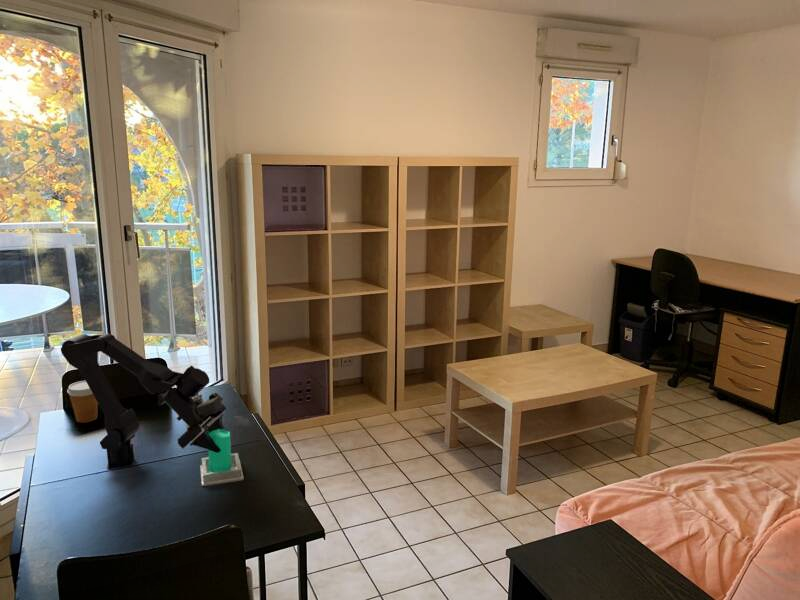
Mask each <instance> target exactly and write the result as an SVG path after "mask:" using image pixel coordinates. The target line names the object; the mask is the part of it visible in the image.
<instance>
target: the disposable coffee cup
mask: <svg viewBox="0 0 800 600" xmlns="http://www.w3.org/2000/svg"><path fill="white" fill-rule="evenodd" d="M66 392H67V394H68V395H69V399H70V402H71V405H72V406H71V407H72V410H73V413H74V416H75V421H76V422H77V423H81V424H83V423H85V424H86V423H89V422H93V421H96V420H97V419H98V411H99V404H98V402H97V400H96V399H95V397H94V395H93V393H92V391H91V390H90V388H89V386H88V384H87V382H86V381H85V380H80V381H76V382H73V383H71V384H69V386H68V388H67V390H66Z"/></svg>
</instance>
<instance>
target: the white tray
mask: <svg viewBox="0 0 800 600" xmlns="http://www.w3.org/2000/svg"><path fill="white" fill-rule="evenodd" d="M199 467H200V469H199V470H200V479H201V481H200V482H201V487H202V488H203V487H209V486H215V485H220V484H222V485H223V484H227V483H235V482H241V481H244V480H245V479H244V478H245V477H244V475H243V469H242V465H241V460H240V457H239V453H238V452H235V453H231V469H230V470H223V471H217V472H211V471H210V470H209V456H206V457H201V464H200V465H199Z"/></svg>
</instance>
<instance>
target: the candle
mask: <svg viewBox="0 0 800 600" xmlns="http://www.w3.org/2000/svg"><path fill="white" fill-rule="evenodd" d="M224 429H225V428H224ZM224 429H218V430H214V431H211V432H209V436H210V437H211V438H212V439H213V441H214V442H215V444H216V445H217V446H218V447H219V448H220V450H221V451H220V452H219V453H217V452H214V451H211V450H208V449H207V450H208V451H207V452H208V457H209V470H210V471H211V472H217V471H223V470H230V469H231V454H232V447H231V446H232V445H231V432H230V431H228V430H227V429H225V430H224Z"/></svg>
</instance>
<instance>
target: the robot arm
mask: <svg viewBox="0 0 800 600" xmlns="http://www.w3.org/2000/svg"><path fill="white" fill-rule="evenodd" d="M60 352H61V354H62V356H63V357H64V359H65V360H66V362H67V363H68V364H69V365H70V366H72V367H74V368H75V369H77V370H78V371H79V372H80V373H81V375H82V377H83V378H84V381H86V382H87V384H88V386H89V388H90V390H91V391H92V393H93V395H94V397H95V399H96V400H97V402H98V407H99V408H100V410H101V411H102V413H103V415H104V429H105V433H106V435H105V437H103V438H102V439H101V440H100V441H99V445H100V447H101V449H102V450H106V456H107V457H106V458H107V465H106V466H107V467H106V469H108V470H110V469H111V470H112V469H118V468H125V467H132V466H133V463H134V461H135V460H136V459H135V457H136V455H135V453H136V452H135V445H134V444H133V443H132V439H134V438H135V437H136V434H137V433H138V431H139V429H140V426H141V425H140V422H139V421H140V419H139V417H138V416H137V415H136V412H135V409H133V408H130V409H127V408H125V407H124V406H123V405H122V403H121V401H120V400H119V398H118V397H117V394H116V393H115V391H114V389H113V387H112V386H111V384H110V382H109V380H108V378H107V376H106V375H105V372H104V370H103V368H102V367H101V365H100V364H99V361H98V359H99V352H101V353H103V354H104V355H106V356H107V357H109V358H110V359H111V360H113V361H114V362H116V363H118V364H119V365H120V366H122V367H123V368H124V369H126V370H127V371H129V372H130V373H132V374H133V375H135V376H136V377H137V379H138V382H139V383H140V385H141V386H142V387H144V388H145V389H146V391H148V392H149V393H150V394H152V395H158V402H157V405H158V406H159V407H160V406H162V405H163V404H164V403H166V404H167V405H168V406H169V407H170V409H171V410H173V412H174V413H175V414H176V415H177V418H176V420H178V421H181V420H182V422H184V423H185V424H186V426H187V425H188V426H189V428H187V429H186V431H185V432H184V433H183V434H182V435H181V436H180V437H179V438H177V445H178V446H179V448H181V449H182V450H184V449H185V448H186V447H187V446H188V445H189V446H190V447H191V446H194V447H195V446H196V447H199V448H203V449H205V450H211V451H214V452H217V453H219V452H220V451H221V450H220V448H219V447H218V446H217V445H216V444H215V442H214V441H213V439H212V438H211V437H210V436H209V433H210V432H211V431H214V430H218V429H224V430H226V429H225V426H224V424H223V417H224V414H223V413H224V411H226V410H227V407H226V406H225V405H224V404H223V403H222V402H223V400H224V398H223V397H221V395H219V394H218V393H217V392H213V393H211V394H210V395H208V399H207V400H205V401H203V402H201V401H200V400H196V401H195V400H194V399H193V398H194V396H196V395H197V394H199V393H201V391H203V389H204V388H206V386H208V384H209V383H210V377H209V375H208V374H207V373H206V371H204V370H202V369H200V368H196V367H194V366H193V365H190V366H189V367H187V368H186V369H185V371H184V372H177V371H174V370H172V369H170V368H169V367H167V366H165V365H162V364H160V363H157V362H152V361H149V360H147V358H144V357H143V356H142V355H140V354H138V353H137V352H136V351H134V350H133V349H131V348H130V347H129V346H127V345H126V344H124V343H122V342H121V341H120V340H119V339H116V336H115V335H114V334H112V333H105V334H95V335H88V334H86V333H84V334H83V333H82V334H79V335H77V336H74V337H72V338H70V339H67V340H65V341H64V342H63V343H62V344H61V348H60ZM165 391H166V392H165ZM164 392H165V393H164ZM192 397H193V398H192ZM203 421H204V422H203ZM205 426H207V428H206V429H204V428H205Z"/></svg>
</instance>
